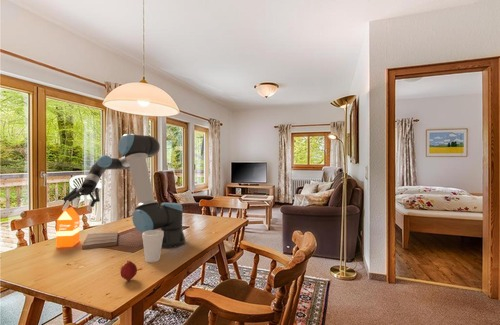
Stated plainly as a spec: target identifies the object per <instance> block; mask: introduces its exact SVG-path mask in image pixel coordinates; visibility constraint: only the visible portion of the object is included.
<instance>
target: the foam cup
mask: <svg viewBox="0 0 500 325" xmlns="http://www.w3.org/2000/svg"><path fill="white" fill-rule="evenodd" d="M141 233H142V236H141V237H142V238H141V240H142V243H143V245H142V246H143V250H144V251H143V252H144V260H145V262H146V263H155V262H158V261H160V259H161V258H160V257H161V253H162V248H163V247H162V241H163V237H164V231H162V230H161V229H155V230H149V231H145V232H141Z"/></svg>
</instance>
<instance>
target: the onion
mask: <svg viewBox="0 0 500 325" xmlns="http://www.w3.org/2000/svg"><path fill="white" fill-rule="evenodd" d="M137 271H138V267H137V265H136V264H135V263H134V262H133V261H131V260H127V261H126V263H124V264H123V265H122V267H121V268H120V277H121V278H123V279H124V280H126V281H127V282H129V281H131V280H132V279H133V278H134V277H135V276H137Z"/></svg>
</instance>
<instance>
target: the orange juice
mask: <svg viewBox="0 0 500 325" xmlns="http://www.w3.org/2000/svg"><path fill="white" fill-rule="evenodd" d="M80 221H81V220H80V215H79V214H78V212H76V210H75V209H74V208H73V206H71V207H68V208H67V209H66V210H64V212H63V211H62V213H61V214H60V215H59V216H58V218H57V219H56V233H55V234H56V235H55V236H56V243H55V245H56V248H73V247H74V246H75V245H76V244H78V243H79V242H80V229H81V228H80Z"/></svg>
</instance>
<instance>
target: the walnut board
mask: <svg viewBox="0 0 500 325" xmlns="http://www.w3.org/2000/svg"><path fill="white" fill-rule="evenodd" d="M118 236H119V231H118V230H116V231H107V232H98V233H88V234H87V235H86V236H85V239H84V240H83V243H82V245H81V250H88V249H96V248H104V247H112V246H117V245H118V244H117V243H118Z"/></svg>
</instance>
